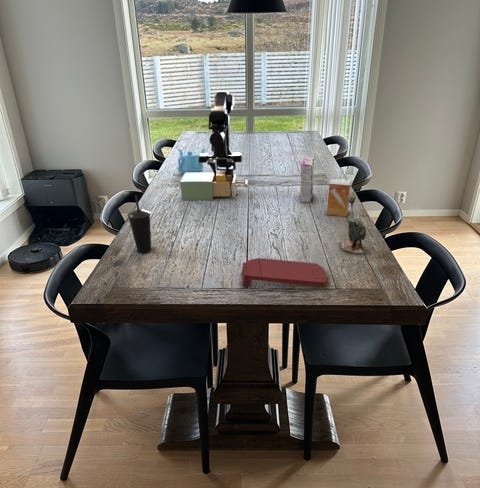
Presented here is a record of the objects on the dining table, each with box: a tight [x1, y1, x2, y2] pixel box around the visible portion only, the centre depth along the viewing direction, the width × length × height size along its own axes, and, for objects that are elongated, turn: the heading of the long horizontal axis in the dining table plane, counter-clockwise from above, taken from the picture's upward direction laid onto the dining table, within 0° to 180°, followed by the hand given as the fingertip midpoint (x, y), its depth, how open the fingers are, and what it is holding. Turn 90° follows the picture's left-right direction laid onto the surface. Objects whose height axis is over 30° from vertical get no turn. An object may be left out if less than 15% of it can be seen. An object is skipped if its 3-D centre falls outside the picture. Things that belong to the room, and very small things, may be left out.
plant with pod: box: [339, 191, 367, 255], centre depth 149 cm, size 8×11×20 cm
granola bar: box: [216, 169, 226, 182], centre depth 201 cm, size 4×8×3 cm, turn 177°
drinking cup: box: [126, 194, 152, 254], centre depth 153 cm, size 8×8×20 cm
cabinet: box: [179, 171, 215, 201], centre depth 205 cm, size 14×13×8 cm
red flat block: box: [240, 257, 328, 288], centre depth 138 cm, size 12×5×25 cm
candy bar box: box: [299, 157, 315, 203], centre depth 195 cm, size 11×5×16 cm, turn 168°
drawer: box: [212, 173, 249, 198], centre depth 204 cm, size 18×12×7 cm, turn 87°
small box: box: [326, 178, 353, 217], centre depth 180 cm, size 8×6×13 cm
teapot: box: [176, 148, 206, 174], centre depth 238 cm, size 15×15×10 cm
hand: (221, 177), depth 202 cm, fingers closed on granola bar, 4 cm apart
